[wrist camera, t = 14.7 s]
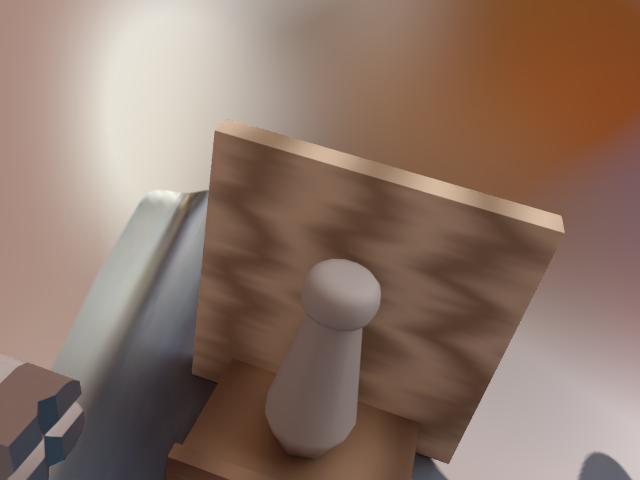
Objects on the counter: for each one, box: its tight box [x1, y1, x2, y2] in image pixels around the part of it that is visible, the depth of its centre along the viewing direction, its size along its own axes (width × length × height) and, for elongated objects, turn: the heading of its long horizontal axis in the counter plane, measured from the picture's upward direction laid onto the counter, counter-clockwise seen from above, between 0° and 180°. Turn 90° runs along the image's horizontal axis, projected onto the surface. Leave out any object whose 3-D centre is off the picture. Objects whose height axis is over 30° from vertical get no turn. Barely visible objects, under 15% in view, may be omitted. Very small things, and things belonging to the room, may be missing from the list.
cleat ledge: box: [166, 358, 420, 480], centre depth 37 cm, size 14×10×4 cm
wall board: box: [192, 120, 565, 464], centre depth 38 cm, size 20×2×20 cm, turn 75°
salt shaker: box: [265, 259, 381, 459], centre depth 34 cm, size 6×6×13 cm
